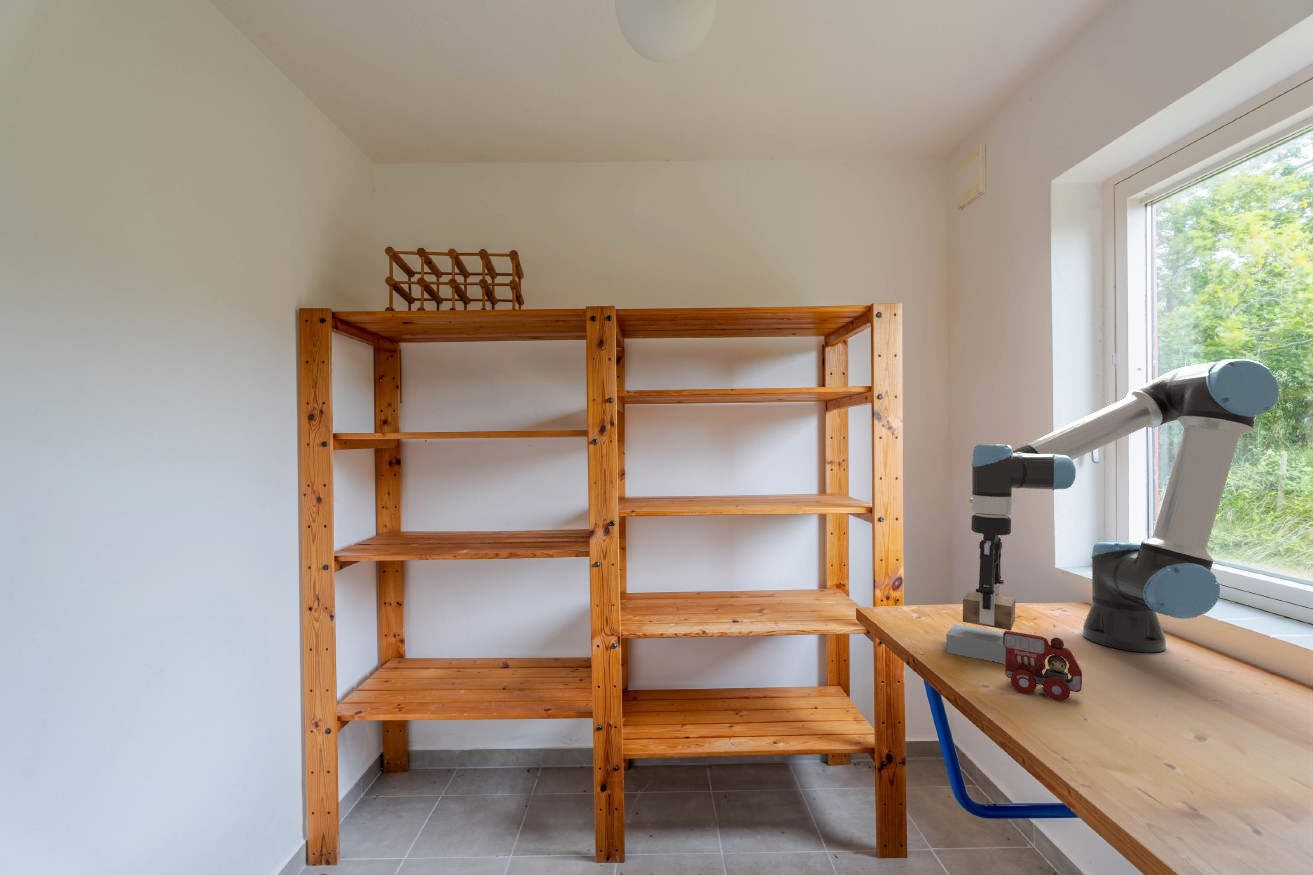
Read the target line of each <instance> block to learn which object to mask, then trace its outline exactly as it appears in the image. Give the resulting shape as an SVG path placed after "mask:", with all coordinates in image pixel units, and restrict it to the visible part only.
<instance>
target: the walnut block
mask: <svg viewBox="0 0 1313 875" xmlns="http://www.w3.org/2000/svg"><path fill="white" fill-rule="evenodd" d="M979 614H980V593H978V592H976V590H975V591H974V590H969V591H968V592H967V593H966V594H965V596H964V597H963V599H962V622H963V623H965V624H966V623H967V624H973V625H978V626H983V627H988V628H995V629H1000V630H1005V631H1012V629H1013V626H1014V623H1015V621H1016V597H1014V596H1007V595H1001V594H1000V595H995V614H994V626H993V625H987V624H981V623H979Z"/></svg>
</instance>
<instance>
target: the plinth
mask: <svg viewBox="0 0 1313 875" xmlns="http://www.w3.org/2000/svg"><path fill="white" fill-rule="evenodd" d="M1004 632H1005V631H997V630H992V629H985V628H980V627H973V626H967V625H962V624H957V623H953V624H952V626H951V627H950V629H949V630H948V631H947V633H946V636H945V637H946V640H945V642H946V647H945V648H946V650H945V651H946V653H948V654H953V655H957V656H962V657H963V656H964V657H968V658H972V659H978V660H982V659H984V660H983V661H987V660H988V662H992V661H995V662H994V663H998V662H999V664H1003V663H1004V664H1003V665H1005V658H1006V647H1005V646H1004V645H1003V633H1004Z"/></svg>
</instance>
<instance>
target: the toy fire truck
mask: <svg viewBox="0 0 1313 875" xmlns="http://www.w3.org/2000/svg"><path fill="white" fill-rule="evenodd" d="M1003 632H1004V633H1003V645H1004V646H1005V647H1006V658H1005V664H1004V673H1005V674H1004V675H1005V676H1006V677H1007V678H1008V679H1010V685H1011V687H1012V688H1013V690H1015V691H1016V692H1018V693H1019V694H1021V693H1022V694H1021V695H1030V694H1032V693H1034V692H1035V691H1036V690H1037V685H1038V686H1042V687H1043V688H1042V689H1043V692H1044V693H1045V695H1046V696H1047V697H1048V698H1049V699H1051V700H1052V701H1054V700H1055V702H1065V701H1067V700H1068V699H1069V698H1070V695H1071V692H1073V693H1080V692H1081V691H1082V688H1083V670H1082V669H1081V667H1080V666H1079V663H1078V662H1077V660H1076V659H1075V656H1074V655H1073V653H1072V651H1071V650H1070V649H1069V648H1067V647H1064V645H1065V643H1064V641H1063V640H1062V638H1060V637H1056V636H1055V637H1052V639H1050V642H1049V640H1048V638H1047V637H1046V636H1041V635H1037V634H1036V635H1035V634H1031V633H1025V632H1019V631H1018V632H1017V631H1012V630H1005V631H1003ZM1046 659H1047V660H1046ZM1046 661H1047V666H1048V667H1047V668H1046ZM1067 666H1068V667H1067ZM1066 669H1067V671H1066ZM1044 670H1045V671H1044ZM1043 671H1044V672H1043ZM1069 676H1070V678H1069Z"/></svg>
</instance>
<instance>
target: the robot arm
mask: <svg viewBox="0 0 1313 875" xmlns="http://www.w3.org/2000/svg"><path fill="white" fill-rule="evenodd" d="M1279 386H1280V385H1279V382H1278V380H1277V377H1276V376H1275V374H1274V375H1273V373H1272V372H1271V370H1270V368H1268V367H1267V366H1266V365H1264V364H1263V363H1261V362H1258V361H1256V360H1252V359H1247V358H1246V359H1245V358H1236V359H1231V358H1230V359H1229V358H1228V359H1222V360H1219V361H1214V362H1208V363H1202V364H1195V365H1189V366H1188V365H1187V366H1183V367H1180V368H1177V369H1174V370H1172V371H1170V372H1169V371H1168V372H1167V373H1165V374H1163V375H1162V376H1159V377H1157V378H1155V379H1153V380H1151V381H1149V382H1147V383H1145V384H1143V385H1140V386H1139V387H1137V388H1135V389H1133V390H1130V391H1129V392H1128V393H1127V395H1126V397H1125V398H1123V399H1122V400H1120V401H1117V402H1115V403H1114V404H1110V405H1109V406H1106V407H1105V408H1102V409H1101V410H1098V411H1096V412H1094V413H1092V414H1089V415H1087V416H1085V417H1083V418H1080V419H1079V420H1076V421H1074V422H1072V423H1070V424H1068V425H1066V426H1064V427H1062V428H1059V429H1057V430H1055V431H1053V432H1051V433H1049V434H1046V435H1044V436H1042V437H1040V438H1038V439H1035V440H1034V441H1031V442H1029V443H1027V444H1025V445H1022V446H1020V447H1018V448H1016V449H1014V450H1013V447H1012V446H1011V445H1009V444H985V443H984V444H977V445H975V446H974V447H973V451H972V457H971V458H972V461H971V471H972V472H971V473H972V474H971V475H972V476H971V480H972V481H971V484H972V485H971V486H972V488H971V489H972V490H971V494H972V495H971V498H969V499H968V502H969V503H971V511H972V513H974V514H972V515H971V526H970V527H971V528H970V529H971V531H972V532H973V533H975V534H982V536H983V537H982V539H981V540H980V541H979V544H978V545H979V546H978V547H979V550H980V552H979V578H978V588H975V592H978V593H980V614H979V623H981V624H987V625H993V626H994V614H995V595H1001V585H1004V581H1005V580H1003V579H1002V576H1001V572H1002V571H1001V558H1002V548H1003V542H1002V539H1001V537H999V536H1009V535H1010V534H1011V533H1012V519H1011V517H1010V515H1012V510H1013V509H1012V505H1013V504H1012V503H1013V496H1012V490H1013V489H1032V490H1052V491H1055V490H1067V489H1069V488H1071V487H1072V486H1073V485H1074V482H1075V480H1076V465H1075V463H1074V460H1076V459H1077V458H1080V457H1082V456H1085V455H1086V454H1089V453H1091V452H1093V451H1095V450H1097V449H1100V448H1102V447H1104V446H1107V445H1109V444H1111V443H1114V442H1115V441H1117V440H1119V439H1122V438H1124V437H1126V436H1129V435H1131V434H1133V433H1135V432H1138V431H1139V430H1142V429H1144V428H1147V427H1148V428H1153V429H1154V428H1157V427H1159V426H1162V425H1164V424H1167V423H1171V422H1174V421H1177V422H1179V423H1180V425H1181V426H1182V427H1183V432H1182V436H1181V439H1180V441H1179V446H1178V448H1177V452H1176V455H1175V460H1174V463H1173V466H1172V469H1171V473H1170V475H1169V476H1170V477H1169V480H1168V483H1167V487H1166V490H1165V493H1164V497H1163V500H1162V503H1161V507H1160V510H1159V514H1158V517H1157V520H1156V525H1155V527H1154V531H1153V534H1152V536H1150V537H1148V538H1146V539H1144V540H1141V543H1140V542H1119V541H1118V542H1117V541H1099V542H1096V543H1095V544H1093V547H1092V553H1091V561H1092V564H1091V566H1092V567H1091V568H1092V570H1091V572H1092V573H1091V575H1092V576H1091V578H1092V579H1091V580H1092V581H1091V582H1092V583H1091V584H1092V586H1091V587H1092V590H1091V592H1092V594H1091V595H1092V601H1091V602H1092V603H1091V606H1090V608H1089V611H1088V614H1086V615H1087V616H1086V618H1085V620H1084V623H1083V626H1082V635H1083V637H1084V638H1086V639H1087V640H1089V641H1091V642H1093V643H1096V644H1099V645H1102V646H1105V647H1109V648H1113V649H1119V650H1122V651H1130V652H1137V653H1138V652H1139V653H1160V652H1163V651H1165V650H1166V649H1167V639H1166V636H1165V632H1164V631H1163V628H1162V625H1161V623H1160V620H1159V617H1158V615H1157V614H1159V615H1163V616H1168V617H1171V618H1175V619H1181V620H1190V619H1195V618H1198V617H1200V616H1202V615H1203V616H1204V615H1205V614H1207V613H1208V612H1211V611H1210V610H1212V609H1213V608H1214V607H1215V606H1216V605H1217V602H1218V601H1219V599H1220V595H1221V586H1220V582H1219V581H1217V577H1216V575H1215V574H1214V573H1213V572H1212V567H1213V566H1212V565H1213V563H1214V558H1213V557H1212V556H1211V555H1210V553H1208V550H1207V547H1208V544H1209V540H1210V537H1211V535H1212V531H1213V527H1214V525H1215V521H1216V517H1217V513H1218V510H1219V507H1220V504H1221V500H1222V496H1223V493H1224V490H1225V488H1226V487H1225V486H1226V484H1227V480H1228V477H1229V474H1230V473H1229V472H1230V470H1231V466H1232V463H1233V459H1234V456H1235V453H1236V449H1237V446H1238V444H1239V443H1238V442H1239V439H1240V437H1242V436H1243V435H1245V434H1248V433H1250V432H1252V431H1253V428H1254V425H1255V421H1256V418H1257V417H1258V416H1261V415H1263V414H1266V412H1267V411H1270V410H1272V408H1274V407H1275V405H1276V403H1277V401H1278V399H1279V396H1280V387H1279Z"/></svg>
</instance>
